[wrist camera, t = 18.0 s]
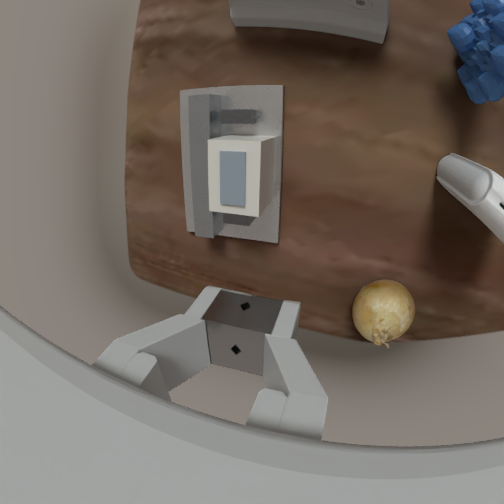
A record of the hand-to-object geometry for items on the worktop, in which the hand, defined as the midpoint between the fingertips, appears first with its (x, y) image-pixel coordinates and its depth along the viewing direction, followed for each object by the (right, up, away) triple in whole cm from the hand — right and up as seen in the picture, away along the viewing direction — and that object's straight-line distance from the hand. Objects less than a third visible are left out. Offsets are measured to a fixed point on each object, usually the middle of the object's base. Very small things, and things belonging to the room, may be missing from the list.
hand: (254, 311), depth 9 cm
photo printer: (+24, +9, +16) cm, 30 cm away
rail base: (-2, +12, +23) cm, 26 cm away
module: (0, +11, +22) cm, 24 cm away
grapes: (+22, +23, +9) cm, 33 cm away
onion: (+17, -4, +25) cm, 30 cm away
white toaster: (+6, +28, +12) cm, 31 cm away
